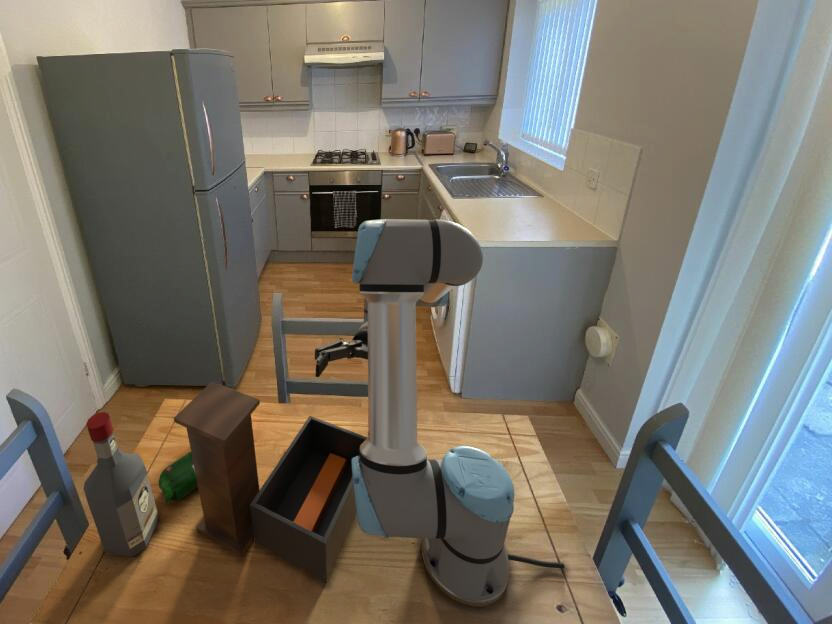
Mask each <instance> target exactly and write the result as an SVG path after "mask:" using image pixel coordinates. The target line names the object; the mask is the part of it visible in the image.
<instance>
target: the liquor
mask: <svg viewBox="0 0 832 624" xmlns="http://www.w3.org/2000/svg"><path fill="white" fill-rule="evenodd" d="M85 425H86V428H87V431H88V435H89V437H90V441H91V442H92V444H93V447H94V451H95V454H96V458H97V460H96V463H97V464H96V465H95V466H94V468H93V470H92V471H91V473H90V474H89V476H88V477H87V478H86V480H85V481H84V484H83V492H84V496H85V499H86V502H87V505H88V508H89V510H90V513H91V516H92V518H93V523H94V525H95V527H96V531H97V533H98V537H99V539H100V542H101V545H102V547H103V550H104V553H105V554H107V555H113V556H114V555H115V556H122V557H129V558H133V557H135V556H136V555H137V554H139V553H141V552H143V551H144V550H145V549H146V548H147V547H148V544H149V543H150V540H151V539H152V536H153V533H154V532H155V529H156V527H157V525H158V523H159V521H160V517H159V513H158V509H157V506H156V502H155V498H154V494H153V490H152V487H151V481H150V478H149V475H148V471H147V467H146V465H145V462H144V460H143V457H142V456H141V455H140V454H136V453H128V452H122V451H121V449H120V448H119V446H118V443H117V440H116V437H115V434H114V426H113V424H112V420H111V417H110V414H109V413H108V412H106V411H103V412H102V411H101V412H96V413H95V414H93V415H91V416H90V417H89V418H88V419H87V420H86V423H85Z"/></svg>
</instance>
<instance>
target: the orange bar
mask: <svg viewBox="0 0 832 624" xmlns="http://www.w3.org/2000/svg"><path fill="white" fill-rule="evenodd" d="M345 469H346V459H344V458H342V457H339V456H337V455H334V454H332V453H330V454H329V456H328V458H327V460H326V462H325V464H324V466H323V468H322V469H321V471H320V473H319V475H318V477H317V479H316V481H315V483H314V484H313V486H312V488H311V490H310V492H309V494H308V496H307V498H306V499H305V501H304V503H303V505H302V507H301V509H300V511H299V513H298V514H297V516H296V518H295V520H294V523H296V524H298V525H300V526H302V527H304V528H306V529H307V530H309V531H311V532H313V533H315V532H316V530H317V527H318V525H319V523H320V521H321V519H322V517H323V515H324V513H325V511H326V509H327V506H328V504H329V502H330V500H331V498H332V496H333V494H334V492H335V490H336V488H337V485H338V483H339V481H340V479H341V477H342V475H343V473H344V471H345Z"/></svg>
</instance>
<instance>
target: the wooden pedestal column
mask: <svg viewBox="0 0 832 624" xmlns="http://www.w3.org/2000/svg"><path fill="white" fill-rule="evenodd" d="M260 401H261V399H259V398H256V397H255V396H252V395H248V394H246V393H243V392H241V391H238V390H235V389H233V388H231V387H228V386H225V385H223V384H220V383H217V382H214V381H210V383H208V384H207V385H206V386H205V387H204V388H203V389H202V390H201V391H200V392H199V393H198V394H197V395H196V396H195V397H194V398H193V399H192V400H191V401H190V402H189V403H188V404H187V405H186V406H184V408H182V409H181V410H180V411H179V412H178V413H177V414H176V415H175V416H174V417H173V422H174V423H175V424H177V425H180V426H182V427H184V428H186V432H187V438H188V443H189V448H190V452H191V454H192V459H193V464H194V469H195V474H196V479H197V484H198V487H197V489H198V494H199V500H200V504H201V509H202V514H203V515H202V516H203V518H202V519H201V520H200V522H199V523H198V524H197V526H196V527H195V528H196V531H197V532H198V533H199V534H201V535H203V536H205V537H206V538H208V539H210V540H211V541H213V542H215V543H216V544H218V545H220V546H222V547H224V548H225V549H227V550H229V551H230V552H232V553H234V554H235V555H237V556H239V557H241V558H243V556H244V555H245V553H246V551H247V550H248V548H249V547H250V545H251V543H252V541H253V540H254V533H253V525H252V517H251V509H250V504H251V503H252V501H253V500H254V498H255V497H256V495H257V494H258V492H259V491H260V483H259V475H258V473H259V472H258V466H257V456H256V447H255V438H254V431H253V430H254V429H253V420H252V414H253V413H254V411H255V410H256V409H257V408H258V407H259V406H260V405H261V403H260Z"/></svg>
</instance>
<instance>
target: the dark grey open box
mask: <svg viewBox="0 0 832 624" xmlns="http://www.w3.org/2000/svg"><path fill="white" fill-rule="evenodd" d="M367 438H368V436H365V435H362V434H360V433H357V432H355V431H352V430H349V429H347V428H343V427H341V426H339V425H335V424H333V423H330V422H328V421H325V420H323V419H320V418H318V417H315V416H312V415H309V416H308V417H307V419H306V421H305V422H304V424H303V425H302V427H301V428H300V429H299V431H298V433H297V434H296V435H295V436H294V438H293V440H292V441H291V443H290V444H289V446H288V447H287V449H286V450H285V452H284V453H283V455H282V456H281V458H279V461H278V462H277V464H276V465H275V467H274V469H273V470H272V471H271V473H270V474H269V475H268V477H267V479H266V481H265V482H264V483H263V485H262V486H261V488H259V492H258V494H257V495H256V497H255V498H254V500H253V501H252V503H251V504H250V509H251V517H252V525H253V533H254V538H253V540H254V544H256V545H258V546H259V547H261V548H263V549H265V550H267V551H268V552H270V553H272V554H274V555H275V556H277V557H279V558H281V559H283V560H285V561H287V562H288V563H290V564H292V565H293V566H295V567H297V568H299V569H301V570H303V571H304V572H306V573H307V574H309V575H311V576H313V577H315V578H316V579H319V580H320V581H322V582H324V583H328V581H329V579H330V577H331V575H332V573H333V569H334V567H335V565H336V563H337V560H338V558H339V555H340V553H341V551H342V549H343V546H344V545H345V541H346V539H347V536H348V535H349V532H350V529H351V527H352V525H353V523H354V520H355V517H356V516H357V510H356V503H355V494H354V483H353V475H352V458H353V457H356V456H359V457H360V446H361V444H362V443H363V442H364V441H365V440H366V439H367ZM330 453H332V454H334V455H337V456H339V457H342V458H344V459H346V469H345V471H344V473H343V475H342V477H341V479H340V481H339V483H338V485H337V488H336V490H335V492H334V494H333V496H332V498H331V500H330V502H329V504H328V506H327V509H326V511H325V513H324V515H323V517H322V519H321V521H320V523H319V525H318V527H317V530H316V532H315V533H313V532H311V531H309V530H307V529H306V528H304V527H302V526H300V525H298V524H296V523H294V520H295V518H296V516H297V514H298V513H299V511H300V509H301V507H302V505H303V503H304V501H305V499H306V498H307V496H308V494H309V492H310V490H311V488H312V486H313V484H314V483H315V481H316V479H317V477H318V475H319V473H320V471H321V469H322V468H323V466H324V464H325V462H326V460H327V458H328V456H329V454H330Z"/></svg>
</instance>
